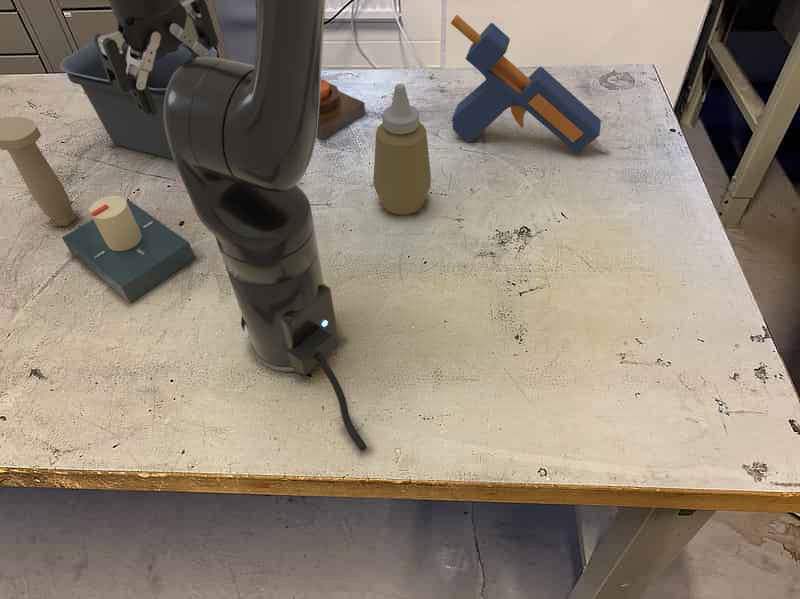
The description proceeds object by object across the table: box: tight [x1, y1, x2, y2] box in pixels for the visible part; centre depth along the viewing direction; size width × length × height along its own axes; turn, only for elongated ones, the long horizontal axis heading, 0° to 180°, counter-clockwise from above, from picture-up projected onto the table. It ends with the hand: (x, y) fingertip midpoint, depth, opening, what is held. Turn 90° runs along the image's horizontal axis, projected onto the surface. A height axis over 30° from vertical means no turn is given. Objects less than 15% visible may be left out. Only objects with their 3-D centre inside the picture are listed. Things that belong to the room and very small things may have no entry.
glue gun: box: [450, 14, 607, 154], centre depth 92 cm, size 6×31×15 cm
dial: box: [89, 195, 142, 251], centre depth 75 cm, size 4×4×6 cm
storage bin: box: [59, 31, 219, 160], centre depth 92 cm, size 21×16×14 cm
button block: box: [316, 82, 366, 141], centre depth 100 cm, size 12×10×4 cm
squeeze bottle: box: [372, 83, 432, 216], centre depth 79 cm, size 8×8×18 cm
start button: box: [320, 78, 330, 101], centre depth 98 cm, size 4×4×2 cm
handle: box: [0, 116, 77, 228], centre depth 79 cm, size 5×6×15 cm
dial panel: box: [61, 199, 196, 304], centre depth 78 cm, size 14×10×3 cm
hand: (178, 98), depth 76 cm, fingers open, 8 cm apart
